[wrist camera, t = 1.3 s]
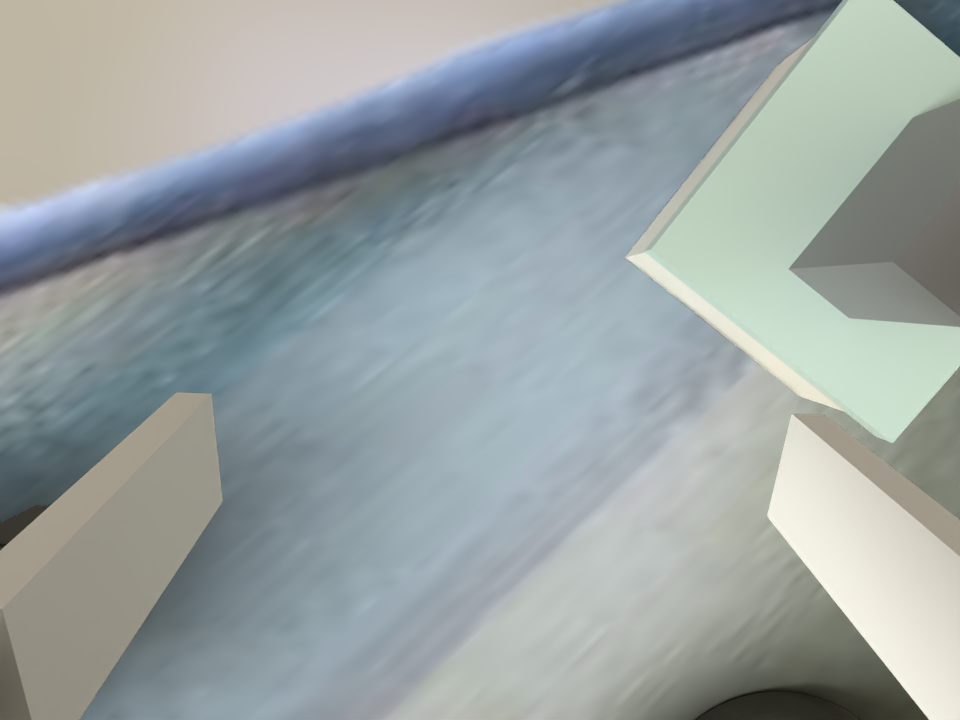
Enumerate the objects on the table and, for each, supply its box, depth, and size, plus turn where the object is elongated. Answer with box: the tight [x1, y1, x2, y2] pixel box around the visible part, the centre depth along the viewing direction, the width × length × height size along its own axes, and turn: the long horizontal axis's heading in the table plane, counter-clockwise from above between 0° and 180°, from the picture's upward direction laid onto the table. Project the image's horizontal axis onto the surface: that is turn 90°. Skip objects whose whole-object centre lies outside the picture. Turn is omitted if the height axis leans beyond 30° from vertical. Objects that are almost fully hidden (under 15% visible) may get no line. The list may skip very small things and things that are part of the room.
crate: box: [625, 38, 843, 411], centre depth 31 cm, size 13×13×7 cm
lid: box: [644, 0, 960, 443], centre depth 24 cm, size 14×14×9 cm
